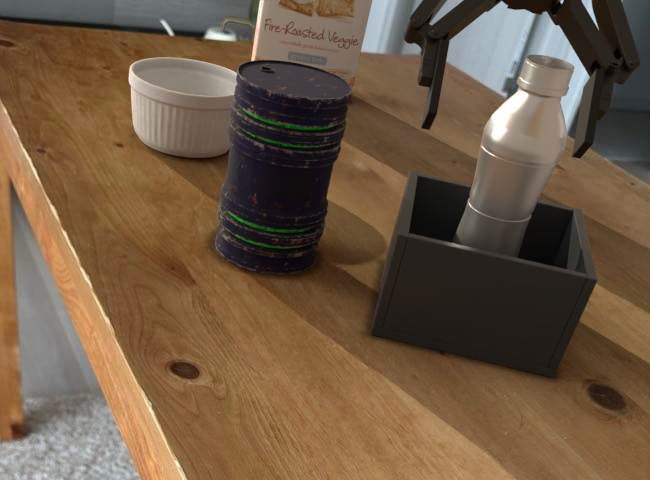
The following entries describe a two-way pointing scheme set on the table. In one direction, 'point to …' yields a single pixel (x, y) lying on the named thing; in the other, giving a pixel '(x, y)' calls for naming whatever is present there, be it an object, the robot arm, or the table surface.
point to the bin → (483, 282)
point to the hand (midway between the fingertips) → (505, 136)
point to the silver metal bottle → (517, 158)
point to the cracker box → (313, 33)
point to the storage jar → (280, 164)
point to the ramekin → (182, 105)
